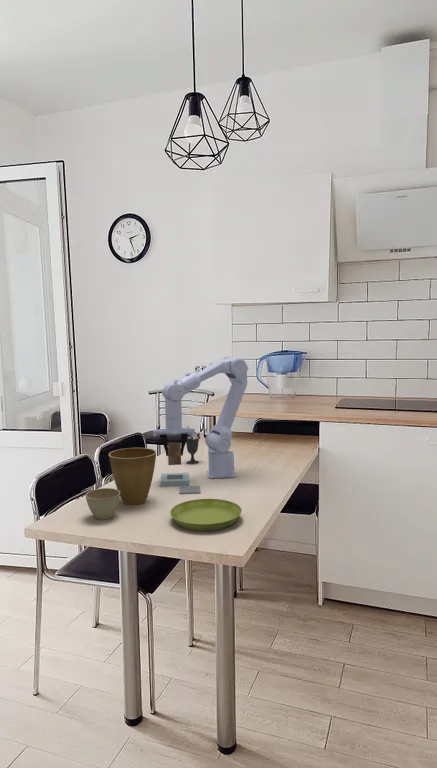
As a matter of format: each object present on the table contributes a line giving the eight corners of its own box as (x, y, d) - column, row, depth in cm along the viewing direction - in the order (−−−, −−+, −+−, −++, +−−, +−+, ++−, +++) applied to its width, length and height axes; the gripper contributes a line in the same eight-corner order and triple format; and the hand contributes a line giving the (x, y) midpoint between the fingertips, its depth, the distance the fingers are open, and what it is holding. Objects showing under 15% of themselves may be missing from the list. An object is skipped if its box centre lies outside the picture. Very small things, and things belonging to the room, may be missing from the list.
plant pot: (167, 500, 179) (165, 451, 177) (129, 512, 169) (127, 461, 167) (138, 490, 190) (137, 444, 188) (101, 501, 179) (99, 452, 177)
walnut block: (181, 461, 201) (180, 442, 200) (181, 464, 197) (180, 445, 196) (168, 461, 201) (167, 442, 200) (168, 465, 196) (167, 445, 195)
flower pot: (80, 516, 166) (79, 493, 165) (108, 508, 173) (107, 486, 172) (98, 525, 159) (97, 501, 158) (127, 516, 166) (126, 493, 165)
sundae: (181, 463, 223) (180, 427, 221) (188, 459, 230) (187, 423, 228) (196, 465, 221) (195, 428, 219) (203, 461, 227) (202, 424, 225)
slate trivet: (199, 486, 193) (199, 485, 193) (200, 493, 186) (200, 492, 186) (179, 487, 193) (179, 486, 193) (179, 494, 186) (179, 492, 186)
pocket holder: (188, 477, 205) (188, 472, 205) (189, 485, 195) (189, 480, 195) (161, 478, 204) (161, 473, 204) (160, 486, 194) (160, 481, 194)
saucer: (189, 505, 175) (189, 495, 175) (251, 513, 168) (251, 503, 167) (157, 528, 157) (157, 517, 156) (225, 539, 149) (225, 527, 148)
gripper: (152, 420, 192) (153, 458, 194) (194, 418, 193) (195, 457, 195) (153, 416, 199) (154, 453, 201) (193, 415, 200) (194, 452, 202)
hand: (174, 455), depth 198 cm, fingers closed on walnut block, 4 cm apart
